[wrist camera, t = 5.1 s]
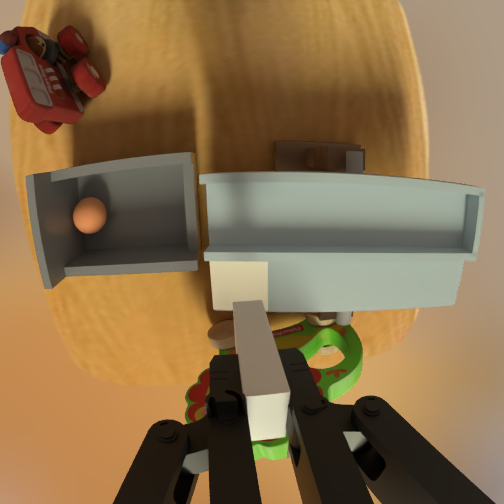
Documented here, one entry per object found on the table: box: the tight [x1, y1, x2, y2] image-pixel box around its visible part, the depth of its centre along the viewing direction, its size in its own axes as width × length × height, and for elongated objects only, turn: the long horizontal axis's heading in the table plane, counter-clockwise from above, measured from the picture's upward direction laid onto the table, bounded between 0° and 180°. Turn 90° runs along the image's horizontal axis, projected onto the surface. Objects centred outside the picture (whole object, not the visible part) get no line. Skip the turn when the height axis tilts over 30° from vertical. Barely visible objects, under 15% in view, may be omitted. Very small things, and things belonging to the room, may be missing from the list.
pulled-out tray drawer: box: [26, 152, 202, 289], centre depth 21 cm, size 9×12×8 cm
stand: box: [275, 141, 365, 321], centre depth 24 cm, size 15×8×6 cm, turn 1°
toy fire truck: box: [0, 25, 106, 134], centre depth 15 cm, size 7×12×10 cm, turn 28°
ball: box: [73, 197, 107, 234], centre depth 22 cm, size 3×3×3 cm
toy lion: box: [185, 312, 363, 460], centre depth 23 cm, size 16×6×15 cm, turn 101°
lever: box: [199, 151, 485, 325], centre depth 19 cm, size 13×20×3 cm, turn 91°
